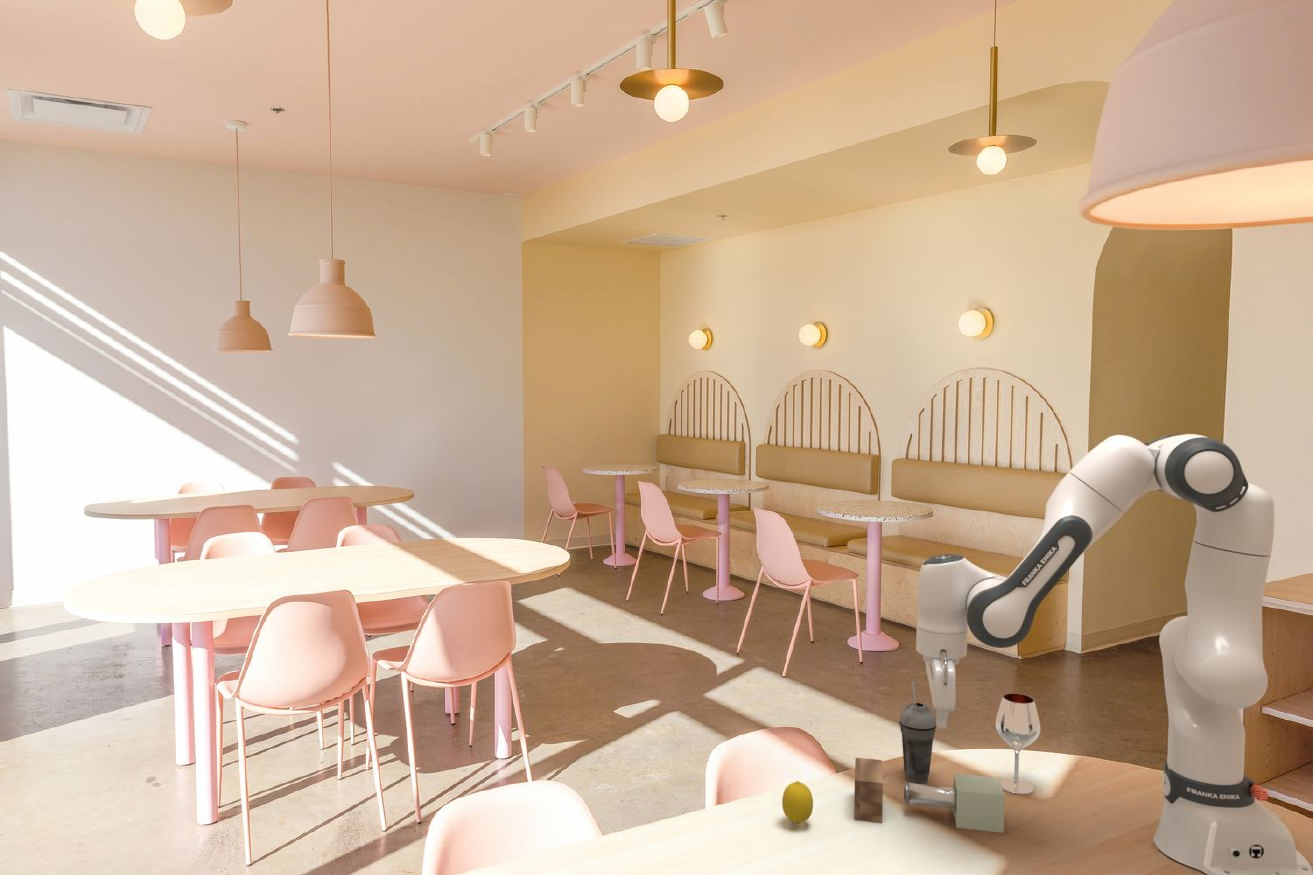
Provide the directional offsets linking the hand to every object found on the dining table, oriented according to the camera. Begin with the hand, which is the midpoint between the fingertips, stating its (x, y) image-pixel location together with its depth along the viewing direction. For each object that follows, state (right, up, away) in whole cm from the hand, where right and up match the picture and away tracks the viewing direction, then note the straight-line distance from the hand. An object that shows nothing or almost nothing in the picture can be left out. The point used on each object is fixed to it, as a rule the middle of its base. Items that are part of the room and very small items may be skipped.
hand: (939, 716), depth 161 cm
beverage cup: (+1, -18, +16) cm, 24 cm away
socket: (-12, -19, +4) cm, 23 cm away
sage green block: (+7, -19, 0) cm, 20 cm away
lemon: (-26, -19, -2) cm, 33 cm away
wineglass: (+19, -18, +13) cm, 30 cm away
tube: (+2, -17, +1) cm, 17 cm away
